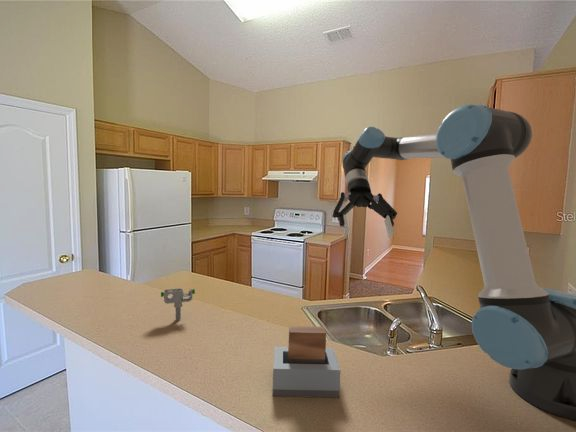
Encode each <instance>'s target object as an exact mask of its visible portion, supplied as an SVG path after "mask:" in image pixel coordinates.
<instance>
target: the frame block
mask: <svg viewBox="0 0 576 432" xmlns="http://www.w3.org/2000/svg"><path fill="white" fill-rule="evenodd" d="M273 352H274V353H273V371H272V397H293V398H294V397H296V398H297V397H298V398H300V397H301V398H302V397H305V398H306V397H307V398H340V388H341V386H340V384H341V369H340V365H339V362H338V358H337V355H336V352H335V349H334V347H326V351H325V364H288V346H274V351H273Z"/></svg>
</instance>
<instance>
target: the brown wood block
mask: <svg viewBox="0 0 576 432" xmlns="http://www.w3.org/2000/svg"><path fill="white" fill-rule="evenodd" d="M326 345H327V331H326V328H325V326H310V325H309V326H305V325H304V326H301V325H297V326H296V325H289V326H288V346H287V347H288V364H325V351H326V348H327V346H326Z"/></svg>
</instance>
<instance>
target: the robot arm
mask: <svg viewBox="0 0 576 432" xmlns="http://www.w3.org/2000/svg"><path fill="white" fill-rule="evenodd" d="M532 138H533V129H532V126H531V124H530V122H529V121H528V119H527V118H526V117H524V116H523V115H521V114H519V113H517V112H514V111H510V110H509V111H507V110H503V109H498V108H493V107H489V106H487V105H484V104H464V105H461V106H458V107H456V108H455V109H453V110H452V111H451V112H449V113H448V114H447V115H446V116H445V117H444V119H443V120H442V123H441V124H440V126H439V127H438V129H437V132H434V133H425V134H416V135H409V136H401V137H395V136H393V137H392V136H387V135H386V134H385V133H384V132H383V131H382V130H381V129H380V128H376V127H375V126H367V127H366V128H365V129H364V130H363V131H362V132H361V134H360V135H359V137H358V138H357V141H356V143H355V144H354V146H353V148H352V149H351V150H348V151H346V153H344V154H343V156H342V158H341V159H342V161H341V162H342V163H341V164H342V165H341V166H342V169H343V173H344V178H345V183H346V188H347V193H348V194H346V193H345V192H343V191H342V192H340V195H339V200H338V202H337V204H336V205H335V207H334V209H333V212H332V215H331V216H332V218H333V219H335V218H337V220H338V223H339V226H340V227H342V228H343V234H344V237H345V238H346V237H348V235H349V233H350V231H349V224H348V219H347V218H348V217H347V215H348V213H349V212H350V211H351V210H352V209H354V207H357V208H361V207H362V208H368V209H370V210H373V211H374V212H375V213H377V214H378V215H379V216H381V217H382V218H383V219H384V225H385V228H386V232H387V236H388V238H391V239H392V237H393V236H394V233H395V231H394V228H393V227H394V225H395V222H394V220H395V219H396V217H397V215H398V211H396V210H395V209H394V208H393V207H392V206H391V205H390V203H388V202H387V200H386V199H384V197H383V194H382V193H377V194H375V195H374V194H373V193H372V190H371V185H370V183H369V182H370V181H369V177H368V174H367V170H366V168H367V166H368V165H369V164H370V162H371V161H372V159H373V158H377V159H389V160H397V161H407V160H409V159H412V160H413V159H415V160H416V159H435V158H436V159H437V158H438V159H439V158H441V159H442V158H446V159H449V160H450V164H451V168H452V173H453V175H455V176H457V177H459V178H461V180H462V184H463V189H464V193H465V199H466V204H467V209H468V213H469V219H470V222H471V227H472V232H473V237H474V238H473V239H474V242H475V247H476V251H477V257H478V261H479V266H480V271H481V275H482V280H483V288H482V289H481V290H480V291H479V292H478V294H477V297H478V298H477V299H478V303H479V307H480V309H478V310H477V311H476V312H475V314H474V315H473V317H472V318H471V331H472V334H473V337H474V340H475V341H476V344H477V345H478V347H479V348H480V349H481V350H482V351H483V353H485V354H487V355H488V356H489V358H490V359H491V360H492V361H494V362H495V363H497V364H499V365H501V366H502V367H505V368H508V369H510V371H509V380H508V383H509V386H510V387H511V389H512V390H513V392H515V393H516V394H517V395H518V396H519V397H520V398H522V399H523V400H525V401H527V402H528V403H530V404H531V405H533V406H535V407H537V408H539V409H540V410H543V411H546V412H547V413H550V414H553V415H556V416H558V417H562V418H566V419H569V420H575V421H576V294H573V293H568V292H564V291H560V290H555V289H550V288H546V287H545V288H544V287H540V286H539V285H538V284H537V283H536V279H535V275H534V271H533V267H532V263H531V258H530V254H529V250H528V246H527V241H526V238H525V237H526V236H525V233H524V230H523V225H522V221H521V217H520V213H519V212H520V211H519V209H518V203H517V200H516V195H515V191H514V187H513V183H512V178H511V175H510V171H509V168H510V167H511V165H512V164H513V163H514V162H515V161H516V158H518V157H519V156H521V155H522V154H523V153H524V152H525V151H526V150H527V149H528V147H529V146H530V144H531V141H532ZM347 200H348V201H349V202H348V203H347V205H345V207H343V209H341V208H342V206H343V203H344V202H346V201H347Z"/></svg>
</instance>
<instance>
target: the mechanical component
mask: <svg viewBox="0 0 576 432" xmlns="http://www.w3.org/2000/svg"><path fill="white" fill-rule="evenodd" d="M183 290H184V289H183V288H172V289H163V291H160V297H161V298H163V301H164V303H165V304H168V305H169V304H174V305H173V308H175V321H177V322H179V321H181V318H182V315H181V314H182V313H181V311H182V310H181V308H182V307H183V303H188V302H191V301H192V300H193V295H195V293H196V290H195V289H194V288H192V287H191V288H189V290H188V292H185V291H183ZM170 295H172V296H170Z"/></svg>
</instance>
